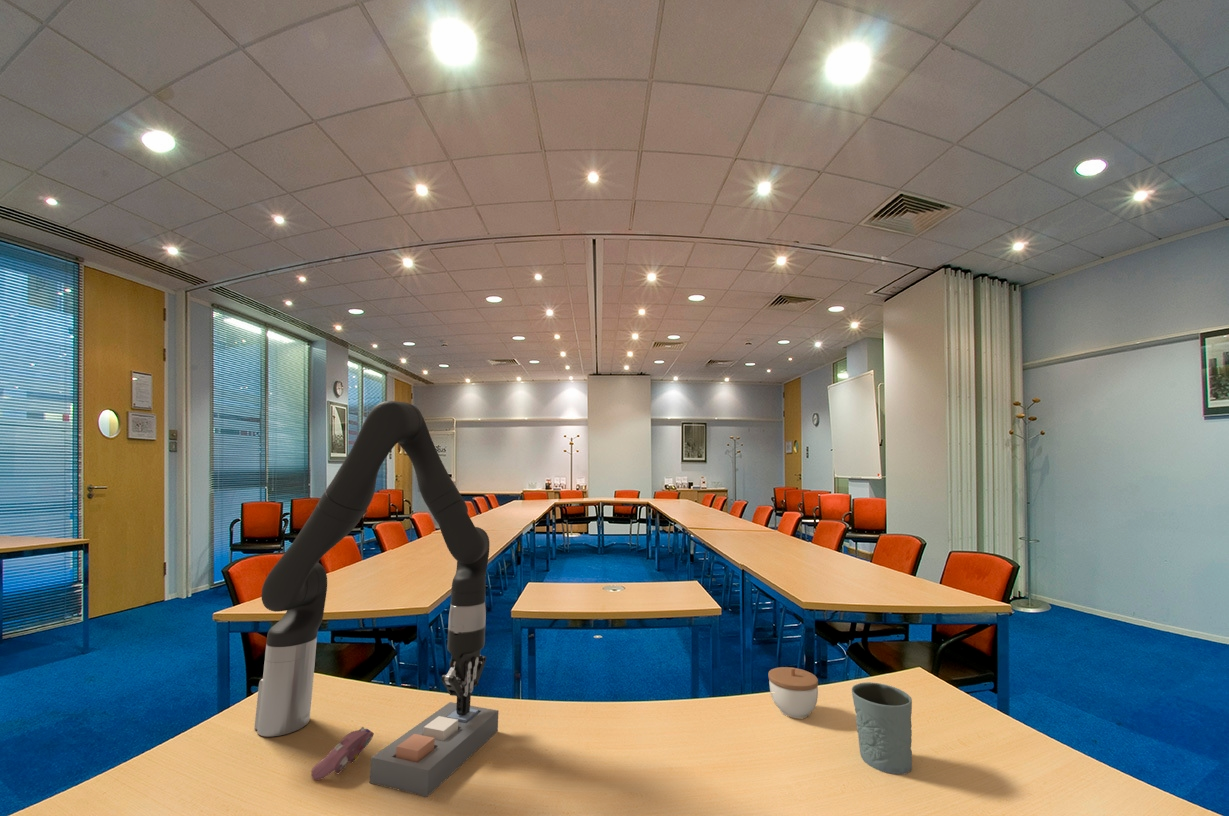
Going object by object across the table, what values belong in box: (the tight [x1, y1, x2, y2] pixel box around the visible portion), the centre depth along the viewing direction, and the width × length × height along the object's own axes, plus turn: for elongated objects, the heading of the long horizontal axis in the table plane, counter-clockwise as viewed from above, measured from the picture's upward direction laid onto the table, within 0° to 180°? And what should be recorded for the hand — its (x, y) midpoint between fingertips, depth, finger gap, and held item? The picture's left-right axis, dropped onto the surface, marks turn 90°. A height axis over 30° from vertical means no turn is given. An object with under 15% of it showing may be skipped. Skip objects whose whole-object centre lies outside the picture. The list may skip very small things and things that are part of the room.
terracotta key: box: [396, 734, 435, 763], centre depth 86 cm, size 4×4×2 cm
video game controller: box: [310, 726, 374, 781], centre depth 88 cm, size 10×5×7 cm, turn 169°
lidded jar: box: [768, 666, 819, 719], centre depth 110 cm, size 11×11×9 cm
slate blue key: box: [447, 709, 478, 723], centre depth 99 cm, size 4×4×2 cm
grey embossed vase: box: [851, 681, 913, 775], centre depth 91 cm, size 10×10×12 cm
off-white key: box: [423, 716, 458, 742], centre depth 92 cm, size 4×4×2 cm
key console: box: [369, 701, 499, 798], centre depth 92 cm, size 12×22×4 cm, turn 162°
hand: (462, 713), depth 99 cm, fingers closed
